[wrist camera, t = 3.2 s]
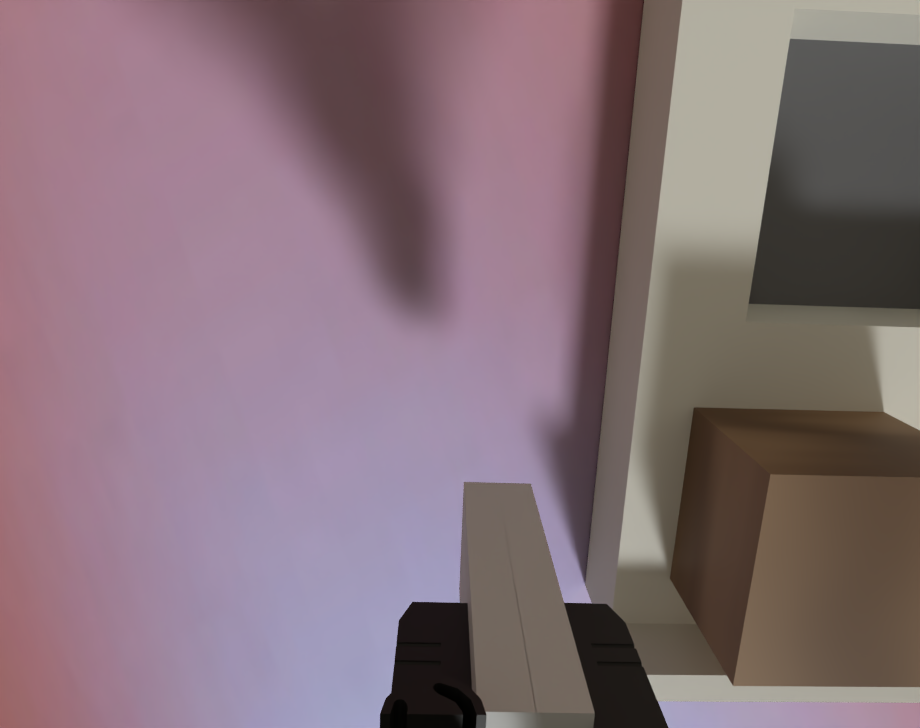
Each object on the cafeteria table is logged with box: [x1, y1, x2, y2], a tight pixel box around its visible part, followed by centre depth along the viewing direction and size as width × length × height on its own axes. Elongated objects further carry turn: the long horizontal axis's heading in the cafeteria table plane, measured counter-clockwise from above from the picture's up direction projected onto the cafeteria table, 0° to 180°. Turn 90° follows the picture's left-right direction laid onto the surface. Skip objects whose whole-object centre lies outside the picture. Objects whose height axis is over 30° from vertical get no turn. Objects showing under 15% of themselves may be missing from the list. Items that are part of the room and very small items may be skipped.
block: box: [670, 407, 920, 687], centre depth 16 cm, size 5×5×4 cm
